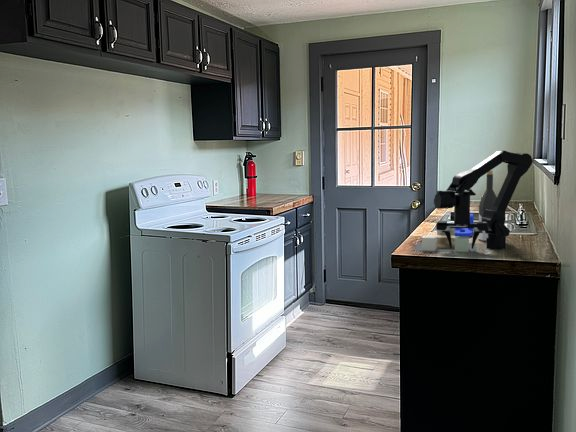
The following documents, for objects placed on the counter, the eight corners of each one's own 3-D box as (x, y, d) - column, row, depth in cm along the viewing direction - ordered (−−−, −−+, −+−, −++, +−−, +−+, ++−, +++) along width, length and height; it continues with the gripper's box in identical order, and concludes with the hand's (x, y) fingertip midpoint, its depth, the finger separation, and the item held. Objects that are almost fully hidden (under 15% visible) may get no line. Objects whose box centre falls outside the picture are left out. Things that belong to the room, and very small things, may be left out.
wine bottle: (500, 244, 224) (502, 171, 220) (479, 244, 226) (481, 171, 222) (497, 241, 232) (498, 170, 228) (477, 240, 233) (478, 170, 230)
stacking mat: (475, 245, 223) (475, 223, 221) (477, 255, 204) (477, 231, 203) (417, 244, 229) (417, 223, 228) (413, 253, 210) (413, 230, 209)
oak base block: (454, 244, 221) (454, 234, 221) (454, 247, 214) (454, 237, 214) (436, 244, 223) (436, 234, 223) (436, 247, 216) (436, 237, 216)
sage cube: (468, 249, 211) (468, 236, 210) (468, 251, 206) (468, 238, 205) (454, 249, 212) (454, 236, 211) (454, 251, 207) (454, 238, 207)
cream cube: (436, 248, 214) (436, 235, 213) (435, 250, 209) (435, 238, 209) (422, 248, 216) (422, 235, 215) (422, 250, 211) (422, 237, 210)
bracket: (455, 231, 261) (455, 212, 260) (473, 231, 258) (473, 212, 257) (451, 237, 245) (452, 217, 243) (471, 238, 242) (471, 218, 240)
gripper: (487, 205, 212) (486, 245, 214) (437, 205, 217) (436, 243, 219) (488, 208, 201) (488, 250, 203) (436, 208, 207) (436, 249, 209)
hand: (461, 248), depth 209 cm, fingers open, 7 cm apart
